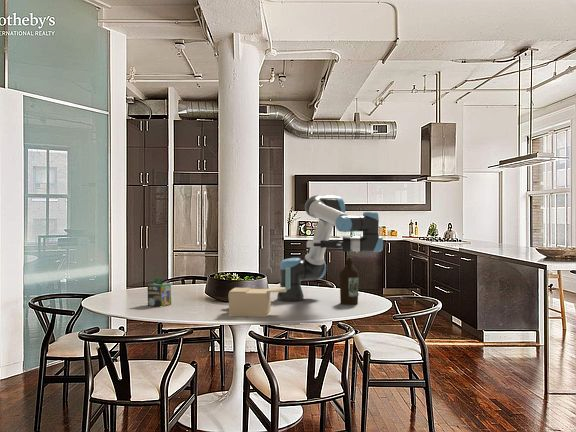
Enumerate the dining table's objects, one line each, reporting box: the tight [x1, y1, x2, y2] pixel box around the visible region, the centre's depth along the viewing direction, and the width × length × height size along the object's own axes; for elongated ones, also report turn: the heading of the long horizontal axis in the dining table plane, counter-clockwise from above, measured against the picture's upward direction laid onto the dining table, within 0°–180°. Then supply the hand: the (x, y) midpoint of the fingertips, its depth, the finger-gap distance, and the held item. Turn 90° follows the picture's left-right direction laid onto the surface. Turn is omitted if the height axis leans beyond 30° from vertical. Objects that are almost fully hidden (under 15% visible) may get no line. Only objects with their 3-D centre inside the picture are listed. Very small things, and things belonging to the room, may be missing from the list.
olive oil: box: [338, 257, 360, 306], centre depth 306 cm, size 11×11×25 cm
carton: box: [227, 287, 271, 318], centre depth 275 cm, size 16×18×12 cm
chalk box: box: [146, 277, 172, 307], centre depth 300 cm, size 9×9×15 cm
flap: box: [267, 268, 290, 293], centre depth 273 cm, size 14×10×11 cm
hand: (307, 243), depth 276 cm, fingers open, 13 cm apart
